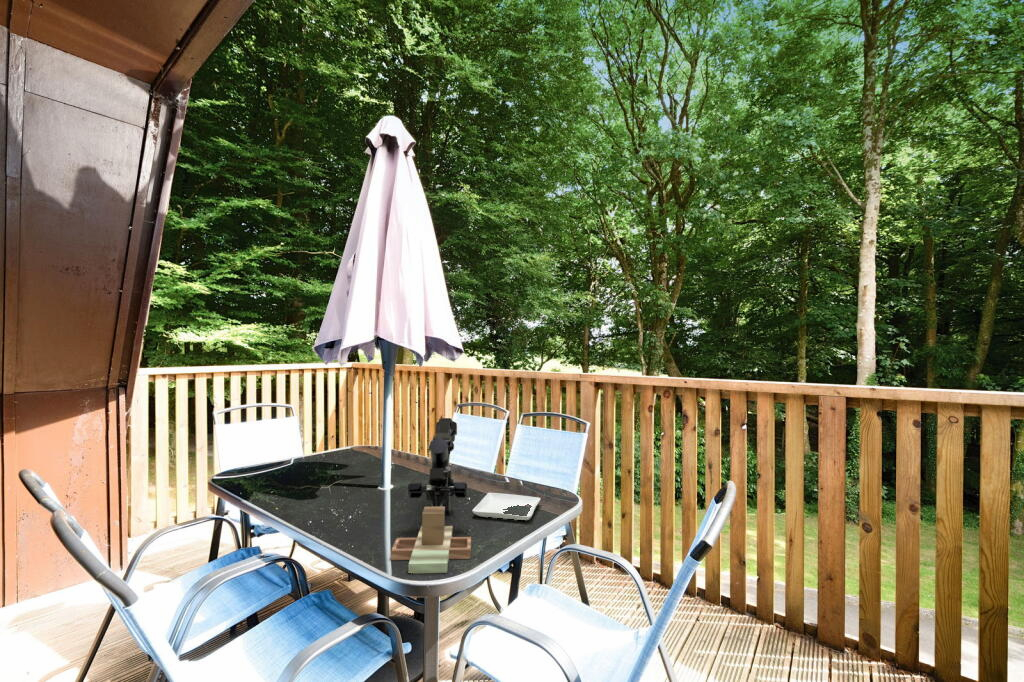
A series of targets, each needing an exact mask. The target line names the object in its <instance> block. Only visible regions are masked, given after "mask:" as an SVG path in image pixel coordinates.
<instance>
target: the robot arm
mask: <svg viewBox="0 0 1024 682" xmlns="http://www.w3.org/2000/svg"><path fill="white" fill-rule="evenodd" d="M434 433H435V435H433V437H432V440H430V442H429V445H428V452H430V458H431V467H430V469H429V475H428V476H429V477H428V484H427V485H426V486H423V485H422V482H421V481H418V482H417V481H416V482H415V481H410V482H409V483H408V486H407V493H408V498H410V499H419V498H421V497H422V496H423V494H425V498H426V500H427V501H429V502H430V504H431V507H441V506H445V515H446V516H448V515H451V513H452V512H451V511H452V507H450V506H451V505H450V503H451V497H454V496H455V497H456V498H457V499H459V498H460V499H461V498H462V499H465V498H467V497H468V483H467V482H466V481H455V480H454V479H453V473H452V466H450V456H451V452H453V450H454V449H455V444H454V442H455V441H456V436H457V435H458V423H457V422H455V421H454V420H453V419H452V418H451V417H440V418H439V419H438V421H437V422H436V423H435V432H434Z"/></svg>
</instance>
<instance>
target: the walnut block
mask: <svg viewBox="0 0 1024 682" xmlns="http://www.w3.org/2000/svg"><path fill="white" fill-rule="evenodd" d="M445 518H446V517H445V506H441V507H432V506H424V508H423V511H422V513H421V519H422V521H421V526H422V545H443V541H444V526H446V524H445V522H446V521H445V520H446V519H445Z"/></svg>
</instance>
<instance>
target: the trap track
mask: <svg viewBox="0 0 1024 682" xmlns="http://www.w3.org/2000/svg"><path fill="white" fill-rule="evenodd" d="M453 528H454V527H453V525H445V526H444V541H443V545H422V525H421V526H420V528H419V530H418V535H417V537H397V538H395V541H394V543H393V546H392V547H391V551H390V561H407V560H408V561H409V562H408V569H407V570H408V573H411V574H412V573H413V574H447V573H448V568H449V567H448V566H449V562H450V560H467V559H471V551H472V550H471V549H472V536H453Z"/></svg>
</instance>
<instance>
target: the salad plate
mask: <svg viewBox="0 0 1024 682" xmlns="http://www.w3.org/2000/svg"><path fill="white" fill-rule="evenodd" d="M540 501H541V497H538V496H529V495H522V494H521V495H520V494H512V493H511V494H510V493H501V492H500V493H498V492H487V494H486V495H485V496H484V497H483V498H482V499H481V500H480V501H479V502H478V504H477V505H475V507H474V508H473V509H472V511H471V512H472V513H473V514H474V515H476V516H479V517H481V518H483V517H484V518H488V517H492V518H491V519H497V518H503V519H502V520H507V519H514V520H513V521H517V520H525V521H528V520H531V518H532V516H533V514H534V511H535V510H536V508H537V505H538V504H539V503H540ZM527 504H529V505H531V506H532V507H531V508H530V511H529V512H528V514H527V516H519V515H512V514H504V513H503V512H505V511H508V510H503V509H507V508H508V507H511V506H512V507H513V506H517V505H519V506H525V505H527Z"/></svg>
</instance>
